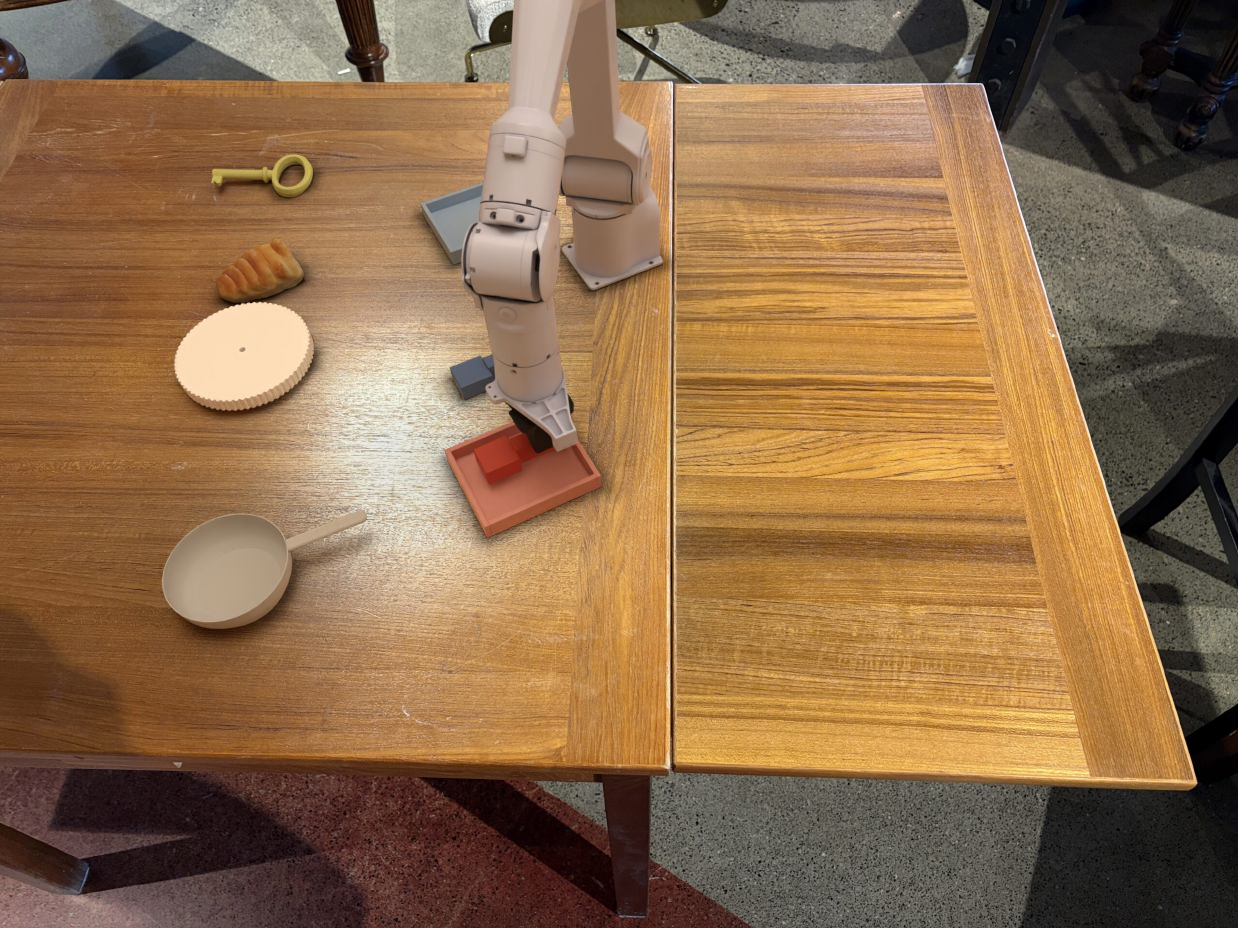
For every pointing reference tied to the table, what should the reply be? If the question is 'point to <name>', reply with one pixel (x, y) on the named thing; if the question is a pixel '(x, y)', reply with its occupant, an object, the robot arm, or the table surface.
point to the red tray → (521, 481)
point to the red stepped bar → (504, 457)
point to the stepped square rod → (473, 375)
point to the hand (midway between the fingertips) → (539, 439)
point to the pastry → (260, 273)
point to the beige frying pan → (236, 568)
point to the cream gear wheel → (244, 356)
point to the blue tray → (453, 218)
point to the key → (270, 175)
